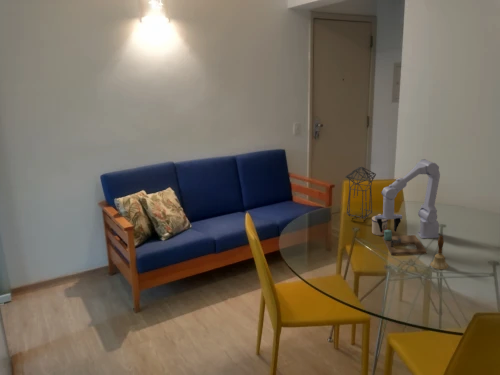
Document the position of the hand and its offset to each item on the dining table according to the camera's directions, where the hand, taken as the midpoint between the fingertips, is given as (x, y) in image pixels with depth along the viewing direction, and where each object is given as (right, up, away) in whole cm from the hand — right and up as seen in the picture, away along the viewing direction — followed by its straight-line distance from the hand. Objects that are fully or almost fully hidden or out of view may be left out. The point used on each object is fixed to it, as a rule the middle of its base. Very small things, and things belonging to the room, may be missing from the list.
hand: (388, 231), depth 239 cm
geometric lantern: (-6, +4, +35) cm, 36 cm away
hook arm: (+2, -9, -7) cm, 11 cm away
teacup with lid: (0, -2, +15) cm, 16 cm away
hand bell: (+17, -14, -27) cm, 35 cm away
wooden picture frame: (+7, -8, -4) cm, 11 cm away
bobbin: (0, -5, +2) cm, 5 cm away
